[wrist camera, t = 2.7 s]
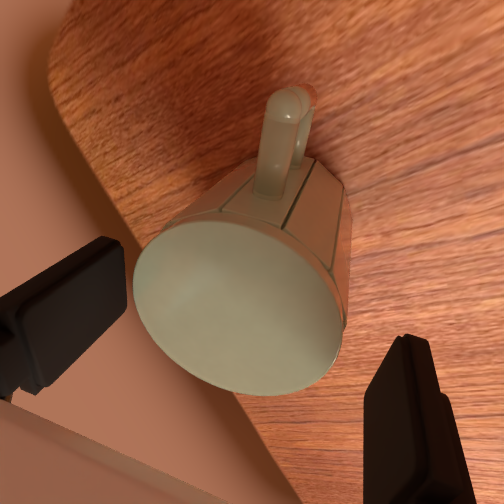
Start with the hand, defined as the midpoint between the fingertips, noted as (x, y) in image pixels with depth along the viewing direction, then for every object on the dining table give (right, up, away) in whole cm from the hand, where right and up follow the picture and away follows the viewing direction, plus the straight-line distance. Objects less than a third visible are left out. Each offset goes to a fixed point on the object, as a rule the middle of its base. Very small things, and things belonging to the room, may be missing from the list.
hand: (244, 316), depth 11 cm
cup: (+2, +5, +5) cm, 8 cm away
